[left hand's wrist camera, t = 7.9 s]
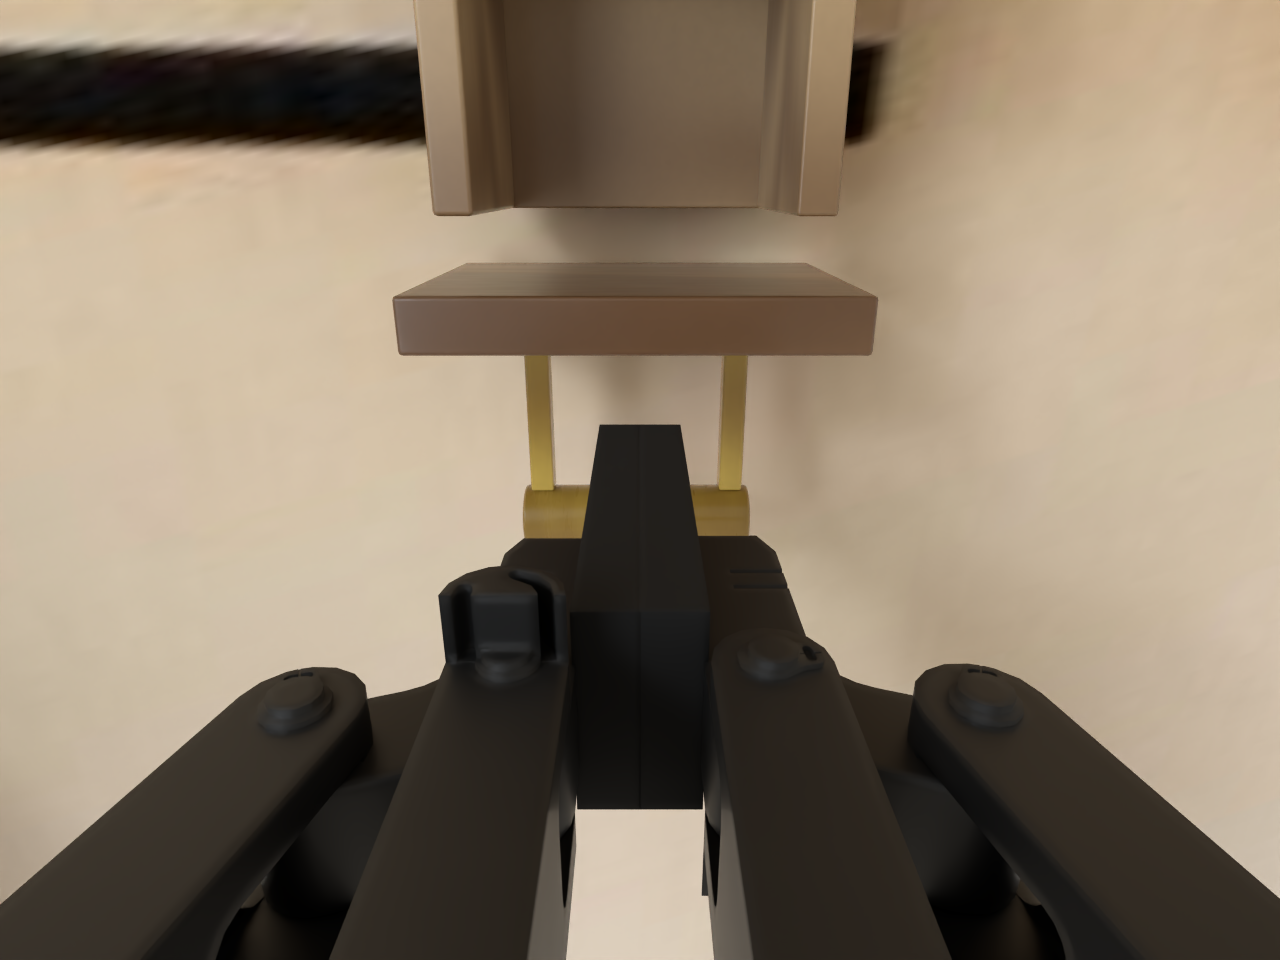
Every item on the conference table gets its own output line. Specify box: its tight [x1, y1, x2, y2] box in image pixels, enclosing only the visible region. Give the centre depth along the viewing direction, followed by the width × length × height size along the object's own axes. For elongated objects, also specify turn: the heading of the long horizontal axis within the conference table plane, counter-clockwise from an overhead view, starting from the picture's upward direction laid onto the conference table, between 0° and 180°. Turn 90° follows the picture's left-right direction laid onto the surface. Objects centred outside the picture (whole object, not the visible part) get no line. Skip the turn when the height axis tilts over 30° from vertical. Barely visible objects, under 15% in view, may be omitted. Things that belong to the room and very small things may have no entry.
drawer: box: [392, 0, 878, 538], centre depth 16 cm, size 25×10×7 cm, turn 0°
